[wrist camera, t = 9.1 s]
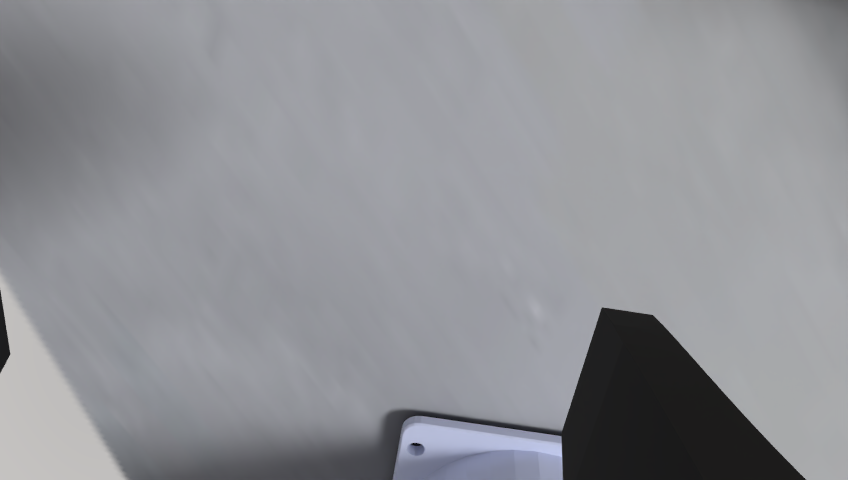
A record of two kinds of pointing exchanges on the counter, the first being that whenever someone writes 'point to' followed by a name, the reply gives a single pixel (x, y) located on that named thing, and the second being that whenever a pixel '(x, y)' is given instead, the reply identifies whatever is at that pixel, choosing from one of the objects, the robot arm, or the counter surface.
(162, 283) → the counter surface
